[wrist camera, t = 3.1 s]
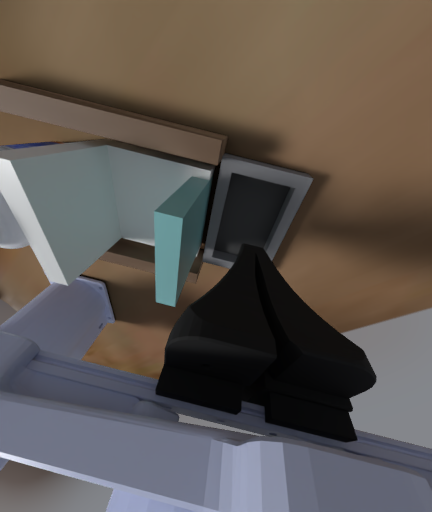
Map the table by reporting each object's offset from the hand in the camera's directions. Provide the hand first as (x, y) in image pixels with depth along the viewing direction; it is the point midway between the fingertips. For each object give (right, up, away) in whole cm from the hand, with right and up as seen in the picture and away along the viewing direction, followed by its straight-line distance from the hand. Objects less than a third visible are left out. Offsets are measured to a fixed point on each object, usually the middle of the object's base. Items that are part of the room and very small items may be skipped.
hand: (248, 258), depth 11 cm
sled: (-7, +5, +4) cm, 9 cm away
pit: (+1, +3, +4) cm, 5 cm away
